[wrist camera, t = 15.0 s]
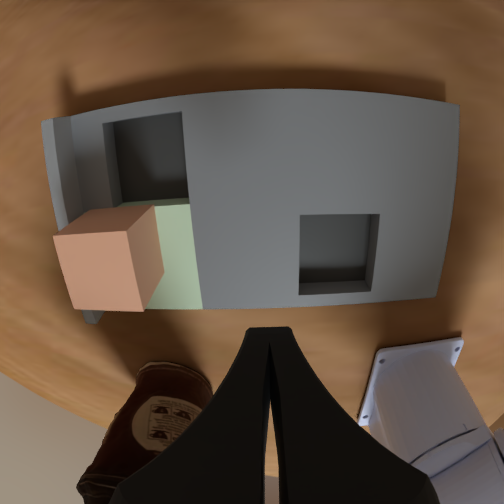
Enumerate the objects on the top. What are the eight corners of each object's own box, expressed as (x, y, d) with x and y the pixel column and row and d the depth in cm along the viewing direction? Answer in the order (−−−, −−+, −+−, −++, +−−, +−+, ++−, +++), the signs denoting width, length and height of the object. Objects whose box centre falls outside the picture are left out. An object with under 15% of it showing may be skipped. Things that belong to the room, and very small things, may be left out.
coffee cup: (163, 328, 22) (103, 496, 10) (249, 388, 24) (244, 544, 12) (109, 380, 24) (55, 507, 12) (184, 427, 27) (161, 551, 15)
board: (426, 285, 20) (447, 312, 17) (105, 295, 21) (85, 323, 18) (446, 104, 15) (477, 106, 12) (72, 117, 16) (41, 121, 13)
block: (164, 272, 18) (143, 311, 14) (103, 273, 18) (74, 309, 15) (154, 204, 16) (126, 231, 13) (89, 209, 17) (52, 235, 13)
